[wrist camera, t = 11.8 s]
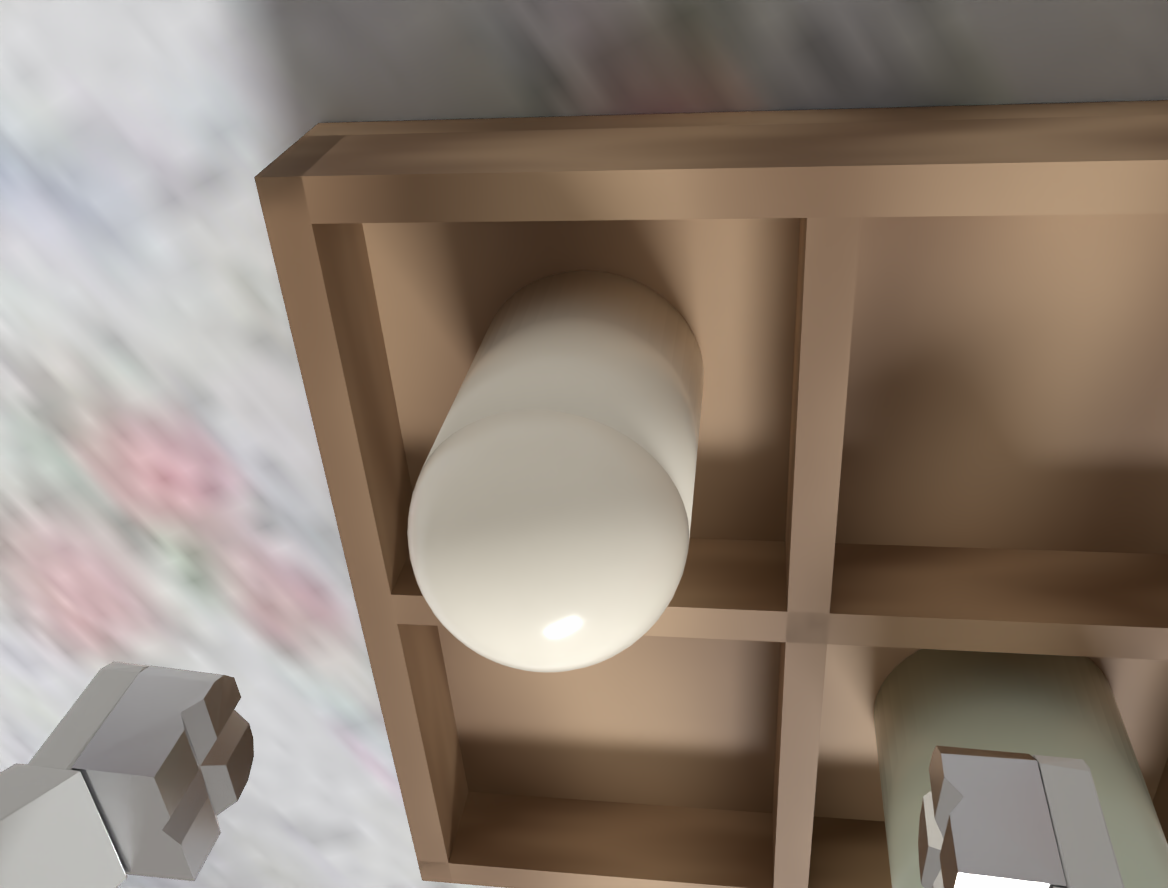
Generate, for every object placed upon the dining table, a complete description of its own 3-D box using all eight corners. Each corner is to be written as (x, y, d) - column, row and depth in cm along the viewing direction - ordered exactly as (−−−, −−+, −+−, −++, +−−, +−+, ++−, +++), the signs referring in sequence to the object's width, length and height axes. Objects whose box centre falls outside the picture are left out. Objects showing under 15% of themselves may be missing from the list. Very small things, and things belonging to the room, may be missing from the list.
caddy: (1419, 93, 17) (1532, 153, 14) (1157, 835, 27) (1197, 946, 24) (318, 123, 20) (254, 177, 17) (450, 785, 30) (422, 880, 27)
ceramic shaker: (703, 269, 19) (677, 502, 13) (704, 469, 22) (683, 743, 16) (468, 270, 20) (343, 493, 14) (494, 464, 22) (397, 725, 16)
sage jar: (1139, 639, 22) (1268, 948, 17) (1086, 800, 25) (1181, 1112, 19) (886, 622, 23) (925, 912, 17) (862, 780, 26) (889, 1076, 20)
